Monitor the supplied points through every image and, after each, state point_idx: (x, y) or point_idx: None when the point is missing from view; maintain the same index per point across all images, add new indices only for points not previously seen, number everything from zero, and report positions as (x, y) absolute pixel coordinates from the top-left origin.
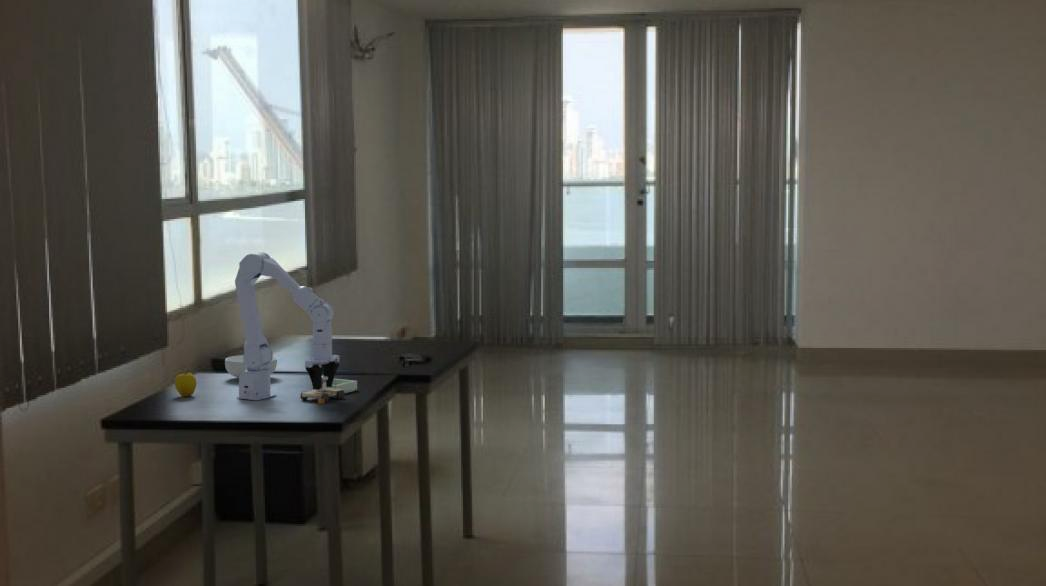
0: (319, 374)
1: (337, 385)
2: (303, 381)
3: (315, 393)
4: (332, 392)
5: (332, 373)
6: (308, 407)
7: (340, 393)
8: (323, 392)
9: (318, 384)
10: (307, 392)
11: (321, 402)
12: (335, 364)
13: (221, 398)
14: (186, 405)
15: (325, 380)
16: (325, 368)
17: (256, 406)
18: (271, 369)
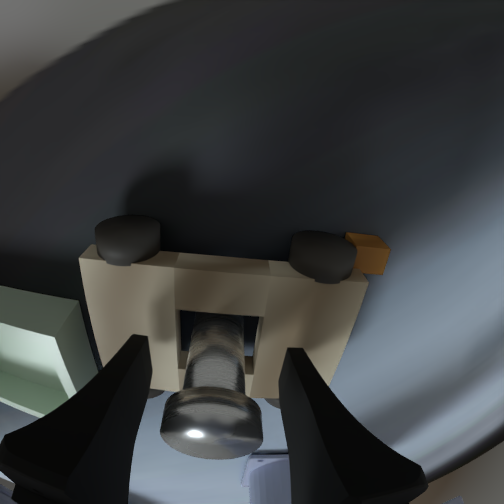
0: (373, 440)
1: (43, 334)
2: None
3: (327, 337)
4: (216, 268)
5: (108, 417)
6: (469, 246)
7: (142, 232)
8: (270, 315)
9: (319, 378)
10: None
11: (377, 239)
12: (66, 493)
13: None
14: None
15: (214, 392)
16: (119, 489)
17: (442, 400)
18: None
